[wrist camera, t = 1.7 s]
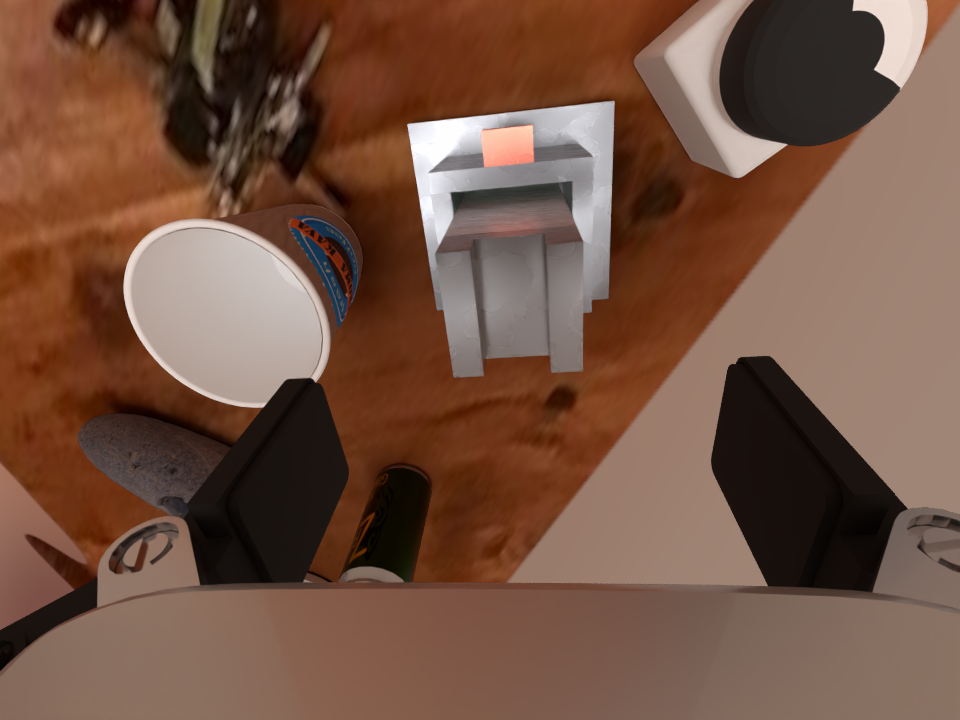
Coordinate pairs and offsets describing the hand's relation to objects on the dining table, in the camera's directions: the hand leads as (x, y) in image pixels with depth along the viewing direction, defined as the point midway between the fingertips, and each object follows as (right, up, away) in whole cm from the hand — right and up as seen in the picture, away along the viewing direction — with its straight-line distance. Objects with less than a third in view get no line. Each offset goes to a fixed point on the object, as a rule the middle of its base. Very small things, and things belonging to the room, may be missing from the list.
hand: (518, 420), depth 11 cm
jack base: (+1, +11, +21) cm, 23 cm away
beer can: (-8, -10, +34) cm, 36 cm away
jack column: (+1, +10, +19) cm, 22 cm away
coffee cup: (-13, +9, +23) cm, 28 cm away
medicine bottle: (+13, +18, +16) cm, 27 cm away
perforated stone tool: (-27, -6, +33) cm, 43 cm away
